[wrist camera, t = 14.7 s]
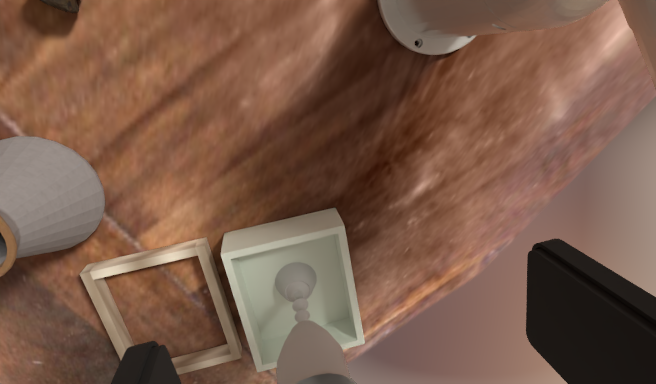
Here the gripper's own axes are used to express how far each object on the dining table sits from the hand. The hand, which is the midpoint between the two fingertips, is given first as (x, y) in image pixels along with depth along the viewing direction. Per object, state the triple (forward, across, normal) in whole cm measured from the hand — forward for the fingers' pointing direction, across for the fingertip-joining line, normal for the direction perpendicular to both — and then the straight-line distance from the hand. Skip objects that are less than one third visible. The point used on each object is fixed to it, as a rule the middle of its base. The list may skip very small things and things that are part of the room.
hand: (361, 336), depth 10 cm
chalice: (+33, +2, +19) cm, 38 cm away
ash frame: (+33, +18, +19) cm, 42 cm away
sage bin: (+33, +2, +19) cm, 38 cm away
